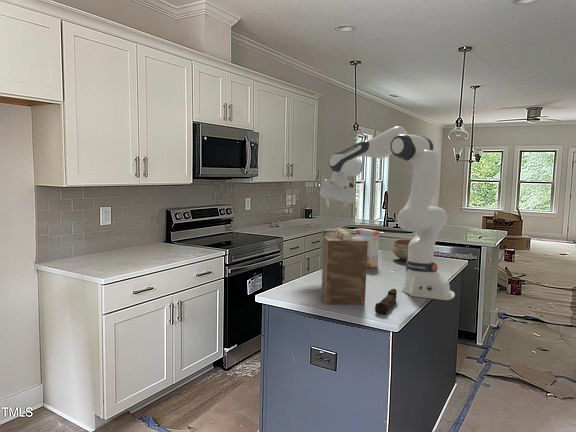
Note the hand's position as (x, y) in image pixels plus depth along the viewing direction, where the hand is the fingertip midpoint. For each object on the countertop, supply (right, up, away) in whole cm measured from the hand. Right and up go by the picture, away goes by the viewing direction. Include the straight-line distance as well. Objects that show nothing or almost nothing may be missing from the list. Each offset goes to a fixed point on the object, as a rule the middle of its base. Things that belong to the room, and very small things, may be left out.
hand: (335, 208), depth 237 cm
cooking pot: (+48, -32, +36) cm, 68 cm away
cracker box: (+19, -33, +19) cm, 42 cm away
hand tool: (+14, -41, -59) cm, 73 cm away
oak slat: (-2, -13, -49) cm, 51 cm away
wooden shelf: (-3, -39, -51) cm, 65 cm away
